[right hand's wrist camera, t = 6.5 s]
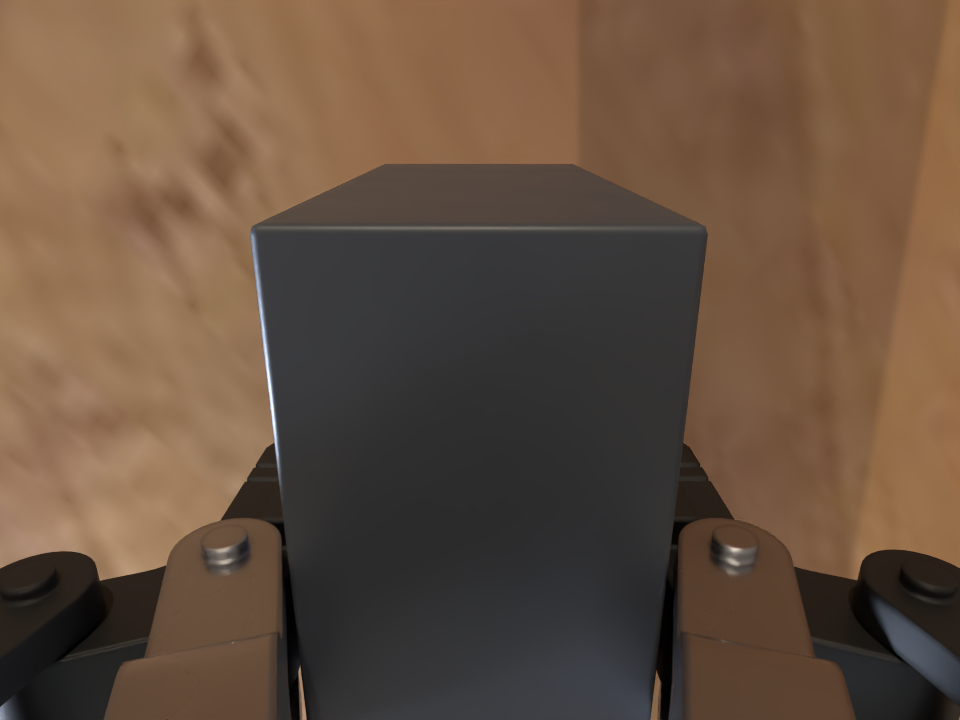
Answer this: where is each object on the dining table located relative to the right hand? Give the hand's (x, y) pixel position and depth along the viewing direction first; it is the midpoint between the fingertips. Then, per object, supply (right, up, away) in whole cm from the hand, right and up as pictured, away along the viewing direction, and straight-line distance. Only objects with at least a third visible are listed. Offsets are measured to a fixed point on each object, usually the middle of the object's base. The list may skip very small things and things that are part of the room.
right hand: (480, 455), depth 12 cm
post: (0, -32, +16) cm, 36 cm away
